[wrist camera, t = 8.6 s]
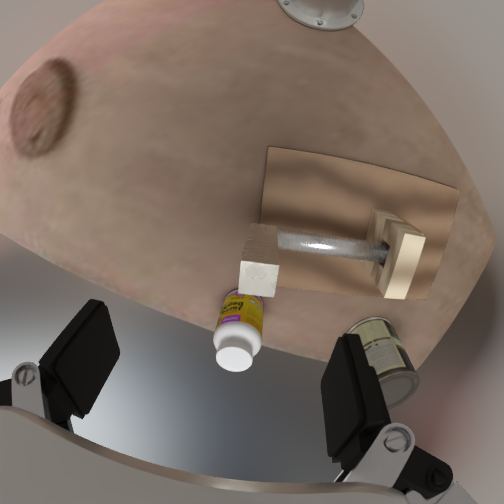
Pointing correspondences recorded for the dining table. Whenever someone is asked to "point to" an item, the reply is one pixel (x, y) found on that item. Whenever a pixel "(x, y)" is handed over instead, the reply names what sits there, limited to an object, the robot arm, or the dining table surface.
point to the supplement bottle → (239, 331)
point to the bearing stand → (357, 223)
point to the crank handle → (273, 239)
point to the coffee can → (387, 359)
